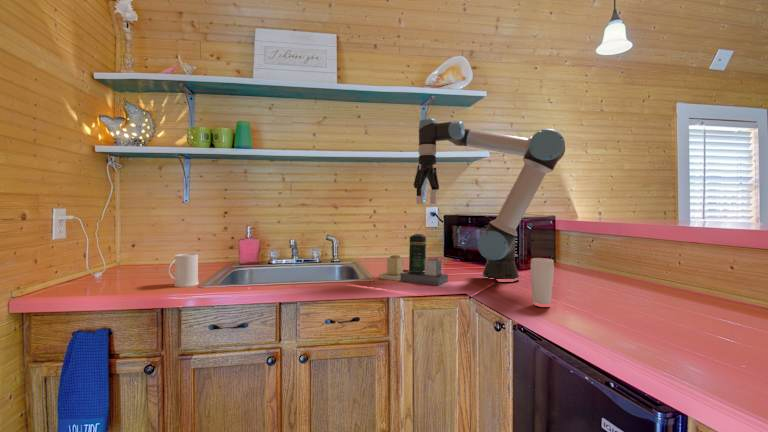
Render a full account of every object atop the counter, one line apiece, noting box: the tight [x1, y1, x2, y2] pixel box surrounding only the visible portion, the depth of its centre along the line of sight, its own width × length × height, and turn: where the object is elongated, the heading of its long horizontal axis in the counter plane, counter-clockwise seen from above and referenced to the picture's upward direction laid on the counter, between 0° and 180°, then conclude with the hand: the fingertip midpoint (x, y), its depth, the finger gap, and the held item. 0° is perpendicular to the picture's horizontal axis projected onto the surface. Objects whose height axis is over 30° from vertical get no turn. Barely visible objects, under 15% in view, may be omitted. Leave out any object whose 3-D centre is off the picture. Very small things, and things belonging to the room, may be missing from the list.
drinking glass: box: [530, 257, 555, 304], centre depth 117 cm, size 7×7×15 cm
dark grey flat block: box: [400, 270, 449, 287], centre depth 151 cm, size 17×9×4 cm, turn 57°
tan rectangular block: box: [386, 254, 404, 276], centre depth 160 cm, size 5×5×10 cm
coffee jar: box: [408, 233, 427, 272], centre depth 177 cm, size 10×8×19 cm
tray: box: [378, 271, 405, 281], centre depth 160 cm, size 9×11×2 cm
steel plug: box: [425, 257, 443, 277], centre depth 149 cm, size 5×5×10 cm
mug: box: [167, 253, 200, 288], centre depth 144 cm, size 12×8×12 cm
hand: (426, 204), depth 162 cm, fingers open, 13 cm apart
